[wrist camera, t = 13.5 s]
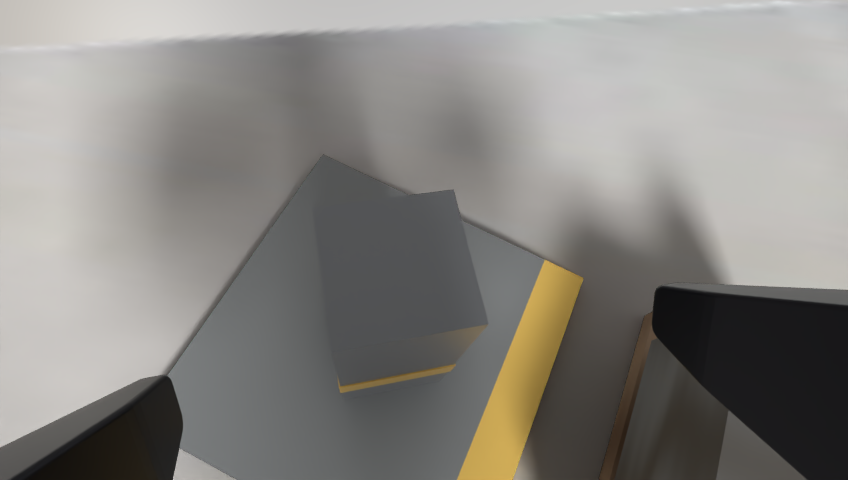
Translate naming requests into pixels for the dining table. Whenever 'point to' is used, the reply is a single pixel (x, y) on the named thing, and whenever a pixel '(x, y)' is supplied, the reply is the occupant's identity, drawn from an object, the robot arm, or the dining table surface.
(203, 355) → the pad
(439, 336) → the block
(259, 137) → the dining table surface
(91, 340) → the dining table surface
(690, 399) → the mounted unit
